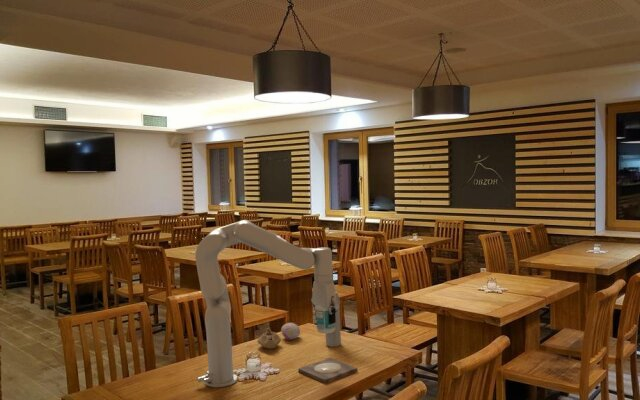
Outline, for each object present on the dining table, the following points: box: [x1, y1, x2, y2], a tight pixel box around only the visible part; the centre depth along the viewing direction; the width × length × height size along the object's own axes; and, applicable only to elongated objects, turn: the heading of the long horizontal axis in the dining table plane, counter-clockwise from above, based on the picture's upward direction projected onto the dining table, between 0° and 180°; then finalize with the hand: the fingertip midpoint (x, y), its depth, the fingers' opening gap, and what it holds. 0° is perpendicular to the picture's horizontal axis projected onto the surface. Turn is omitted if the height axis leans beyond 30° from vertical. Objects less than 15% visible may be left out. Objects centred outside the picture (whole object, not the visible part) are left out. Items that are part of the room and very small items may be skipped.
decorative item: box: [280, 322, 301, 340], centre depth 257 cm, size 9×11×10 cm
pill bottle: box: [315, 305, 335, 334], centre depth 209 cm, size 8×7×14 cm
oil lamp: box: [257, 327, 282, 350], centre depth 244 cm, size 11×15×8 cm
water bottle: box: [324, 290, 342, 348], centre depth 242 cm, size 9×8×25 cm
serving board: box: [298, 357, 358, 384], centre depth 210 cm, size 17×17×2 cm
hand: (325, 321), depth 210 cm, fingers closed on pill bottle, 7 cm apart
